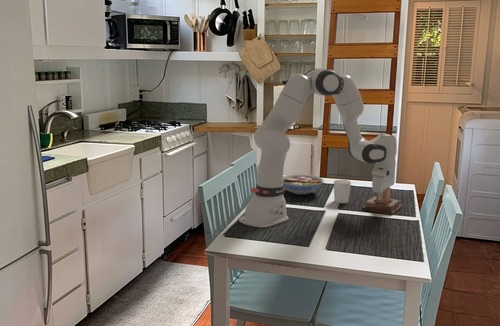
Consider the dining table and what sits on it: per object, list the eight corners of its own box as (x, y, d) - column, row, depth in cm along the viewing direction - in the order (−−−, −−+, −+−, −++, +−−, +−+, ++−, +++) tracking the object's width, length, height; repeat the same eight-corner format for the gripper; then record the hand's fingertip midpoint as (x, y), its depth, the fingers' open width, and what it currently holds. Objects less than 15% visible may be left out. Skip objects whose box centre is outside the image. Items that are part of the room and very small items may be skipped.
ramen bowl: (325, 188, 254) (325, 173, 252) (325, 200, 232) (326, 184, 230) (278, 186, 258) (278, 171, 256) (274, 198, 235) (274, 182, 234)
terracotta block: (386, 205, 217) (387, 190, 215) (375, 203, 220) (376, 188, 218) (389, 202, 221) (391, 187, 219) (379, 200, 224) (380, 186, 222)
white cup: (348, 199, 235) (349, 179, 233) (350, 204, 227) (351, 183, 225) (332, 198, 235) (333, 179, 233) (333, 203, 228) (334, 183, 226)
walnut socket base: (392, 215, 211) (392, 207, 211) (362, 209, 219) (362, 202, 218) (401, 207, 223) (402, 200, 222) (373, 202, 230) (373, 195, 230)
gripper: (386, 164, 227) (384, 192, 230) (370, 172, 211) (368, 201, 214) (399, 165, 224) (397, 194, 226) (384, 174, 207) (382, 204, 210)
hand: (383, 198), depth 220 cm, fingers closed on terracotta block, 5 cm apart
